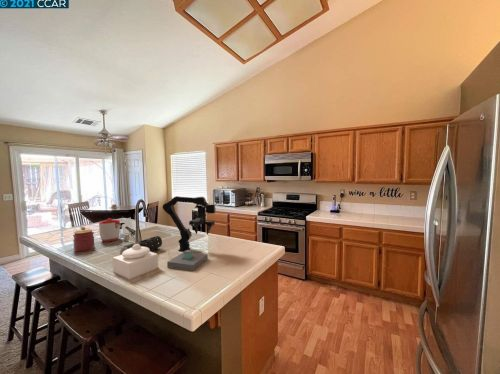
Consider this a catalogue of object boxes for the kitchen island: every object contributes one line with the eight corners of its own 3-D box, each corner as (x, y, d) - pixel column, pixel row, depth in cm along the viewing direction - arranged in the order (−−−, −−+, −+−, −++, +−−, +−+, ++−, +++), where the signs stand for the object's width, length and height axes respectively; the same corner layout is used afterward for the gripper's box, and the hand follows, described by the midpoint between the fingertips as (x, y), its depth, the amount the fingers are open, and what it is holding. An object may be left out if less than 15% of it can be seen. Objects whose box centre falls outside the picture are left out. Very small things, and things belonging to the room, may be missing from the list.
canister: (69, 250, 166) (68, 228, 165) (87, 245, 178) (86, 224, 177) (80, 253, 161) (79, 229, 160) (98, 247, 173) (97, 225, 172)
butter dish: (129, 279, 119) (128, 251, 118) (113, 272, 129) (111, 245, 128) (158, 268, 134) (157, 242, 133) (141, 262, 143) (140, 238, 143)
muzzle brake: (162, 249, 167) (162, 236, 167) (129, 262, 142) (128, 247, 142) (153, 247, 172) (153, 234, 171) (119, 260, 146) (118, 245, 146)
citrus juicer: (115, 242, 185) (114, 219, 184) (95, 243, 185) (94, 219, 184) (126, 237, 200) (125, 216, 199) (107, 237, 201) (106, 216, 200)
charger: (183, 264, 139) (183, 251, 138) (187, 261, 143) (187, 249, 142) (189, 264, 138) (189, 252, 137) (192, 262, 141) (192, 250, 141)
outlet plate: (167, 267, 134) (167, 261, 134) (184, 256, 151) (184, 251, 151) (193, 270, 129) (193, 264, 129) (207, 259, 146) (207, 254, 146)
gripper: (184, 215, 159) (185, 236, 159) (207, 216, 153) (208, 238, 154) (192, 212, 169) (193, 232, 170) (214, 213, 164) (215, 233, 165)
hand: (202, 234), depth 164 cm, fingers open, 9 cm apart
